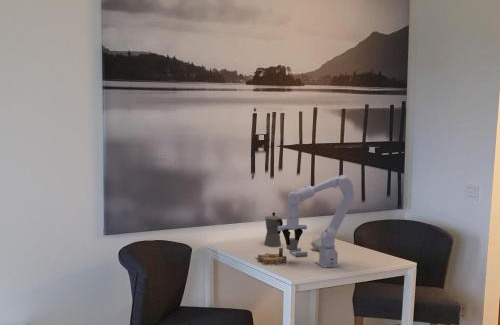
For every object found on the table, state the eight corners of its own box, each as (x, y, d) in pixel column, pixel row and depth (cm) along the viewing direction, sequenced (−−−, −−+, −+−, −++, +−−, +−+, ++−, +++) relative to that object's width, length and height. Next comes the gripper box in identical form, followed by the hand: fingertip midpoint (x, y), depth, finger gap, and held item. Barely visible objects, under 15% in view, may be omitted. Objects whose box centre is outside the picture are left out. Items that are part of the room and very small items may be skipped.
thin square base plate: (289, 263, 274) (289, 263, 274) (264, 265, 270) (264, 264, 270) (279, 256, 287) (279, 255, 287) (254, 257, 283) (254, 257, 283)
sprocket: (291, 263, 274) (291, 251, 273) (263, 264, 269) (263, 253, 269) (280, 255, 288) (280, 244, 287) (253, 257, 283) (253, 246, 282)
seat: (307, 256, 288) (307, 252, 288) (296, 257, 286) (296, 252, 286) (300, 252, 297) (300, 247, 297) (289, 252, 295) (289, 248, 295)
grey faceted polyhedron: (322, 254, 297) (332, 238, 299) (308, 245, 298) (318, 229, 301) (320, 256, 305) (329, 240, 307) (306, 247, 306) (315, 232, 308)
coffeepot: (259, 243, 315) (260, 210, 313) (273, 241, 320) (274, 209, 318) (273, 249, 302) (274, 215, 300) (288, 247, 306) (289, 214, 305)
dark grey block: (297, 249, 274) (297, 239, 274) (289, 250, 273) (290, 240, 273) (293, 248, 278) (294, 237, 278) (286, 248, 277) (286, 238, 276)
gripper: (302, 214, 281) (302, 241, 282) (275, 215, 276) (274, 243, 277) (309, 217, 274) (308, 245, 275) (281, 218, 269) (280, 246, 270)
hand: (291, 244), depth 276 cm, fingers closed on dark grey block, 4 cm apart
